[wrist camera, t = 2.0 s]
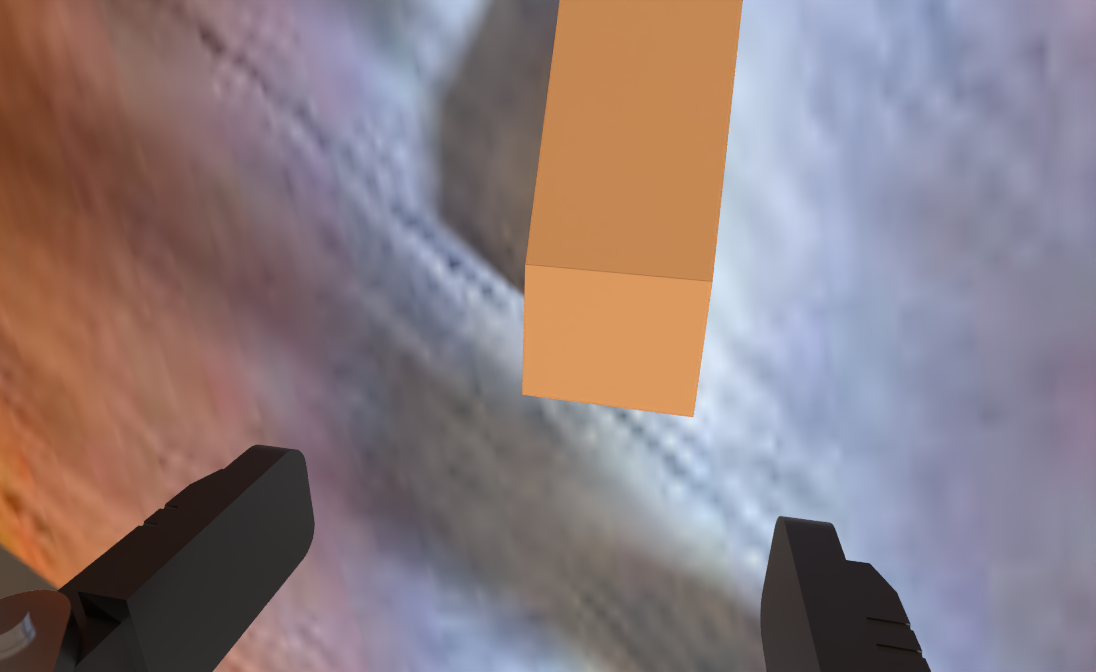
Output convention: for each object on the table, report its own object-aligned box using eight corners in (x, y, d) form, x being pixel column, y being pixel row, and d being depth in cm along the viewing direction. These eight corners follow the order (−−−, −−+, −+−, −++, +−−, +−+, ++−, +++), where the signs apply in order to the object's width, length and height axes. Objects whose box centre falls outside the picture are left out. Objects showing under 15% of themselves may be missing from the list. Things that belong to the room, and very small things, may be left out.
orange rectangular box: (575, 5, 20) (532, -29, 14) (736, 7, 19) (755, -28, 13) (560, 325, 24) (522, 395, 18) (692, 340, 23) (693, 417, 18)
